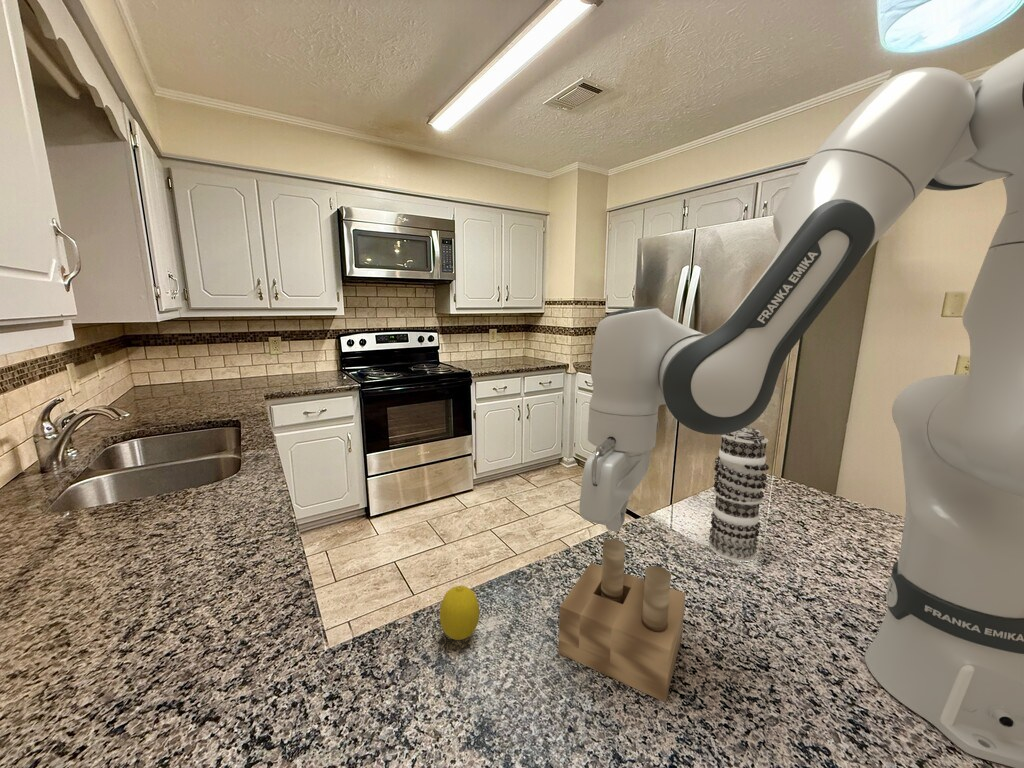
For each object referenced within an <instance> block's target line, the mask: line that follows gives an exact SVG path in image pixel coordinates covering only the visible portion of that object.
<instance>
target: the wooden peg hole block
mask: <svg viewBox="0 0 1024 768" xmlns="http://www.w3.org/2000/svg"><path fill="white" fill-rule="evenodd" d="M644 573H645V574H644V579H643V578H640V577H637V576H634V575H631V574H628V573H625V572H624V579H623V599H622V604H620V603H617V602H615V601H612V600H609V599H606V598H604V597H601V581H602V564H601V565H599V564H596V563H594V562H589V564H588V566H587V567H586V569H585V570H584V572H583V573H582V574H581V576H580V577H579V579H578V580H577V582H576V583H575V584H574V586H573V587H572V588H571V590H570V591H569V593H568V594H567V595H566V597H565V599H563V601H562V603H561V604H560V606H559V617H558V618H559V619H558V645H557V648H558V649H557V653H558V654H559V655H561V656H564V657H566V658H568V659H570V660H572V661H575V662H577V663H579V664H581V665H583V666H585V667H588V668H590V669H592V670H594V671H596V672H598V673H600V674H602V675H605V676H606V677H609V678H611V679H614V680H615V681H617V682H619V683H622V684H625V685H626V686H629V687H631V688H633V689H635V690H637V691H639V692H642V693H644V694H646V695H648V696H651V697H653V698H655V699H657V700H659V701H661V702H664V703H667V699H668V694H669V690H670V687H671V682H672V678H673V674H674V669H675V667H676V666H675V665H676V662H677V658H678V653H679V649H680V646H681V642H682V639H683V638H682V636H683V627H684V626H683V625H684V613H685V601H686V592H683V591H680V590H677V589H673V588H672V587H671V581H672V580H671V579H672V573H671V572H670V570H668V569H666V568H665V567H663V566H659V565H649V566H647V567H645V572H644Z"/></svg>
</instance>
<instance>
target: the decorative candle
mask: <svg viewBox="0 0 1024 768" xmlns="http://www.w3.org/2000/svg"><path fill="white" fill-rule="evenodd" d="M720 437H721V441H720V447H719V449H718V455H717V456H716V457H715V460H714V463H715V465H714V468H713V470H714V471H715V474H714V478H713V479H714V480H713V481H714V483H713V486H712V487H713V488H714V489H713V492H714V494H715V503H714V504H713V511H712V513H710V514H711V515H710V516H711V520H710V524H711V527H710V528H709V534H710V535H709V536H708V539H709V543H708V546H709V545H710V548H711V549H712V550H713V551H714V552H715V553H716V554H718V555H720V556H721V557H724V558H726V559H725V560H727V559H729V560H728V561H730V560H734V561H739V562H740V561H741V562H745V561H751V560H754V559H755V558H756V559H757V552H758V551H757V550H758V549H759V548H758V545H759V539H758V538H757V537H759V534H760V531H759V529H760V528H761V523H760V522H759V521H760V504H762V502H763V500H764V497H765V495H764V494H765V493H764V492H763V491H761V490H762V489H765V488H766V486H767V483H765V482H764V481H766V480H767V479H768V476H767V475H766V474H765V473H764V472H765V471H768V470H770V466H769V465H768V464H767V463H766V462H767V461H768V460H767V455H766V452H767V451H766V449H767V443H768V442H769V439H768V438H767V437H765V436H764V434H763V432H761V431H760V430H759V429H756V428H752V427H748V426H747V427H745V428H743V429H741V430H738V431H735V432H732V433H728V434H720ZM710 548H709V549H710ZM716 554H715V555H716ZM718 555H717V556H718ZM720 556H719V557H720ZM721 557H720V558H721ZM724 558H723V559H724ZM756 559H755V560H756ZM734 561H733V562H734ZM739 562H738V563H739Z"/></svg>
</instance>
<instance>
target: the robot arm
mask: <svg viewBox="0 0 1024 768" xmlns="http://www.w3.org/2000/svg"><path fill="white" fill-rule="evenodd" d="M995 180H1002V183H1003V185H1004V189H1005V194H1006V207H1005V212H1004V215H1003V216H1002V218H1001V221H1000V222H999V223H998V226H997V228H996V230H995V233H994V234H993V237H992V239H991V242H990V244H989V247H988V249H987V251H986V254H985V256H984V259H983V262H982V265H981V267H980V269H979V272H978V275H977V277H976V280H975V282H974V285H973V288H972V290H971V293H970V296H969V298H968V301H967V304H966V306H965V308H964V311H963V313H962V325H963V327H964V329H965V331H966V332H967V334H968V338H969V348H970V349H969V352H970V353H969V354H970V355H969V356H970V357H969V369H968V374H963V373H962V374H960V373H959V374H956V373H955V374H947V375H946V374H945V375H937V376H932V377H927V378H923V379H922V378H921V379H919V380H916V381H913V382H911V383H910V384H908V385H907V386H905V387H904V388H903V389H902V390H901V391H899V393H898V394H897V395H896V397H895V399H894V401H893V404H892V407H891V415H892V419H893V422H894V424H895V427H896V429H897V431H898V435H899V440H900V447H901V449H900V450H901V459H902V460H901V461H902V470H903V471H902V472H903V479H904V489H905V514H904V515H905V517H904V521H903V522H904V523H903V530H902V535H901V536H902V537H901V542H900V547H899V556H898V560H897V561H895V562H894V563H893V565H892V568H891V574H890V576H889V578H888V583H887V588H886V598H885V599H886V606H887V609H886V612H885V615H884V618H883V620H882V623H881V624H880V627H879V630H878V631H877V634H876V636H875V637H874V639H873V641H872V642H871V644H870V645H869V646H868V647H867V649H866V650H865V653H864V661H865V665H866V666H867V669H868V670H869V672H870V673H871V675H872V676H873V678H874V679H875V680H876V681H877V683H879V685H881V687H882V688H884V690H886V691H887V693H889V694H890V695H891V696H893V697H894V699H896V700H897V701H899V702H900V703H901V704H903V705H904V706H906V707H907V708H909V709H910V710H911V711H913V712H914V713H916V714H917V715H919V716H920V717H922V718H923V719H925V720H926V721H927V722H929V723H930V724H932V725H933V726H935V728H937V729H938V730H939V731H940V732H941V733H942V734H943V735H944V736H945V737H946V738H947V739H948V740H950V741H951V742H952V743H953V744H955V746H956V747H958V748H959V749H961V750H962V751H963V752H965V753H966V754H968V755H971V756H974V757H976V758H979V759H983V760H986V761H990V762H993V763H997V764H1001V765H1003V766H1006V767H1007V766H1008V767H1011V768H1024V48H1022V49H1019V50H1018V51H1016V52H1014V53H1013V54H1011V55H1009V56H1008V57H1006V58H1005V59H1003V60H1001V61H999V62H998V63H996V64H995V65H993V66H991V67H990V68H989V69H988V70H987V71H986V72H985V71H984V73H983V74H981V75H980V76H978V77H976V78H975V79H974V80H973V79H972V80H971V81H969V80H968V79H966V78H965V77H964V76H962V75H961V74H959V73H958V72H956V71H954V70H951V69H947V68H942V67H936V66H935V67H933V66H930V67H929V66H924V67H923V66H922V67H916V68H913V69H909V70H905V71H902V72H900V73H898V74H896V75H894V76H891V78H888V79H887V80H885V81H884V82H883V83H882V84H880V85H879V86H877V87H876V88H875V89H874V90H873V91H872V92H871V93H870V94H869V95H867V97H865V98H864V100H862V101H861V102H860V103H859V104H858V105H857V106H856V107H855V108H854V109H853V110H852V111H851V112H850V113H849V114H848V115H847V116H846V117H845V118H844V119H843V120H842V121H841V122H840V124H839V125H837V126H836V128H834V129H833V131H832V132H831V133H830V134H829V136H827V137H826V139H824V141H823V142H822V143H821V144H820V146H819V147H818V148H817V149H816V151H815V152H814V153H813V154H812V156H810V158H809V159H808V161H807V162H806V163H805V164H804V165H803V167H802V168H801V170H799V172H798V174H797V175H796V176H795V178H794V179H793V181H792V182H791V184H790V185H789V187H788V188H787V191H786V192H785V193H784V195H783V197H782V198H781V200H780V203H779V205H778V206H777V208H776V210H775V212H774V214H773V218H772V219H773V220H772V227H773V230H774V234H775V237H776V239H777V242H779V244H778V248H777V251H776V253H775V255H774V257H773V259H772V260H771V262H770V263H769V265H768V266H767V268H765V270H764V272H762V274H761V275H760V277H759V278H758V279H757V280H756V282H755V283H754V284H753V285H752V287H750V290H749V291H748V292H747V294H746V295H745V297H743V299H742V300H741V301H740V302H739V304H738V306H737V307H736V308H735V309H734V311H732V313H731V315H729V317H728V318H727V320H725V321H724V323H722V324H721V325H720V326H719V327H717V328H716V329H715V330H713V331H712V332H710V333H707V334H705V333H703V332H700V331H697V330H696V329H693V328H691V327H689V326H687V325H684V324H682V323H680V322H678V321H676V320H675V319H673V318H671V317H670V316H668V315H667V314H665V313H664V312H663V311H661V309H659V307H656V306H652V305H647V306H646V305H645V306H637V307H630V308H624V309H620V310H617V311H615V310H614V311H611V312H610V313H608V314H607V315H605V316H603V318H602V319H601V320H600V321H599V322H598V324H597V325H596V329H595V333H594V337H593V338H594V339H593V344H592V345H593V346H592V353H591V365H590V366H591V367H590V377H591V380H592V381H591V382H592V385H593V386H592V388H593V389H592V395H591V398H590V400H589V404H588V424H587V441H588V442H589V444H591V445H593V446H595V447H596V448H595V452H594V453H592V454H590V455H589V456H588V457H587V459H586V461H585V463H584V466H583V471H582V478H581V486H580V496H579V505H578V510H579V515H580V516H581V519H583V520H585V521H588V522H590V523H595V524H597V525H603V526H605V529H607V531H611V532H614V533H617V532H619V531H620V530H621V528H622V526H623V524H624V523H625V519H626V511H627V508H628V505H629V501H630V500H629V499H630V497H631V495H633V493H634V492H635V490H636V489H637V487H638V486H639V485H640V484H641V482H643V480H644V478H645V477H647V473H648V469H649V466H650V462H651V461H650V460H651V456H652V450H653V449H655V447H656V442H657V433H658V431H659V419H658V416H659V415H658V414H659V408H660V406H662V405H666V407H667V408H668V411H669V412H670V413H671V415H672V416H673V417H674V419H676V421H678V422H679V423H680V424H682V425H683V426H684V427H686V428H688V429H689V430H692V431H695V432H697V433H701V434H705V435H712V436H713V435H715V436H716V435H720V434H728V433H732V432H735V431H738V430H741V429H743V428H745V427H748V426H750V425H751V424H753V423H754V422H755V421H757V419H759V418H760V417H761V416H762V415H763V414H764V412H765V411H766V409H767V407H768V405H769V403H770V401H771V399H772V397H773V394H774V392H775V388H776V385H777V382H778V378H779V376H780V375H779V374H780V373H781V370H782V367H783V366H784V362H785V361H786V359H787V357H788V356H789V354H790V353H791V351H792V350H793V348H794V347H795V346H796V344H797V343H798V342H799V341H800V339H802V337H803V335H805V333H806V332H807V331H808V330H809V328H810V327H811V325H812V324H813V323H814V321H816V319H817V318H818V316H819V315H820V314H821V312H822V311H823V310H824V309H825V308H826V306H827V305H828V304H829V302H830V301H831V300H832V299H833V298H834V296H835V295H836V293H838V291H839V290H840V288H841V287H842V286H843V284H844V283H845V282H846V280H847V279H848V278H849V277H850V275H851V274H852V273H853V271H854V270H855V268H856V267H857V266H858V264H859V263H860V261H861V260H862V259H863V258H864V257H865V256H866V254H867V253H868V252H869V251H870V249H871V248H872V247H873V246H874V245H875V244H876V243H878V241H880V239H881V238H882V237H883V235H885V233H886V232H887V231H889V229H890V228H891V227H892V226H893V225H894V224H895V223H896V222H897V221H898V219H900V218H901V216H902V215H903V214H904V213H905V211H907V209H908V208H909V207H910V206H911V205H912V204H913V202H914V201H915V200H916V199H917V198H918V196H920V194H921V193H922V192H923V191H924V190H925V189H926V190H930V191H931V190H932V191H939V192H941V191H942V192H943V191H946V192H948V191H949V192H950V191H958V190H965V189H969V188H970V189H971V188H973V187H977V186H979V185H982V184H984V183H986V182H991V181H995ZM720 436H721V435H720Z"/></svg>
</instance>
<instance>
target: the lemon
mask: <svg viewBox="0 0 1024 768" xmlns="http://www.w3.org/2000/svg"><path fill="white" fill-rule="evenodd" d="M439 621H440V625H441V629H442V630H443V632H444V634H445V635H446V636H447V637H449V638H450V639H453V640H456V641H460V640H465V639H467V638H469V637H470V636H471V635H472V634H473V633H474V632H475V630H476V628H477V626H478V625H479V621H480V605H479V601H478V598H477V595H476V594H475V592H474V590H472V589H471V588H469V587H468V586H465V585H456V586H453V587H452V588H450V589H448V590H447V592H446V593H445V594H444V596H443V598H442V600H441V604H440V609H439Z"/></svg>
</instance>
